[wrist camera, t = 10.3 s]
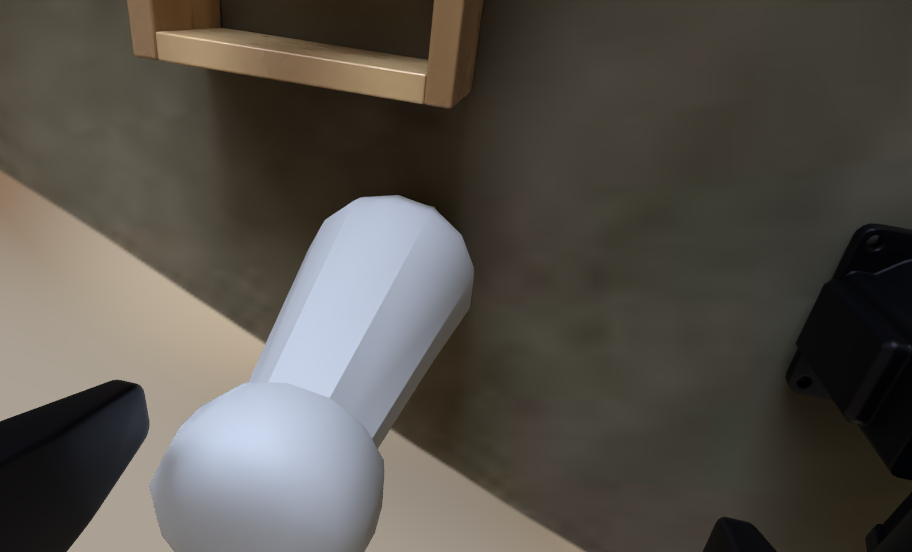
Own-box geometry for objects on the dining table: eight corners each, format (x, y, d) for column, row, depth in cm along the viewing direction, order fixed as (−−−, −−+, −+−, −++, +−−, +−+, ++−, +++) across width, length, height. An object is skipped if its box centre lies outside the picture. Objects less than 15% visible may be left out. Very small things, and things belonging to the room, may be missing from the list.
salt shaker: (349, 316, 23) (151, 636, 12) (316, 182, 21) (25, 423, 9) (490, 311, 22) (423, 660, 11) (473, 169, 20) (362, 425, 8)
